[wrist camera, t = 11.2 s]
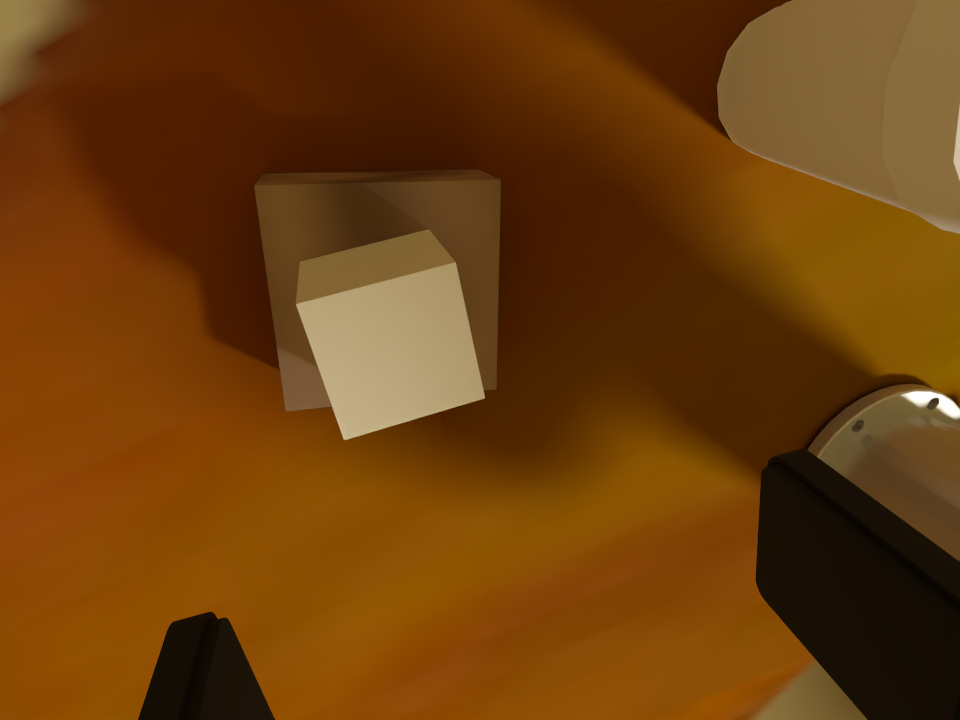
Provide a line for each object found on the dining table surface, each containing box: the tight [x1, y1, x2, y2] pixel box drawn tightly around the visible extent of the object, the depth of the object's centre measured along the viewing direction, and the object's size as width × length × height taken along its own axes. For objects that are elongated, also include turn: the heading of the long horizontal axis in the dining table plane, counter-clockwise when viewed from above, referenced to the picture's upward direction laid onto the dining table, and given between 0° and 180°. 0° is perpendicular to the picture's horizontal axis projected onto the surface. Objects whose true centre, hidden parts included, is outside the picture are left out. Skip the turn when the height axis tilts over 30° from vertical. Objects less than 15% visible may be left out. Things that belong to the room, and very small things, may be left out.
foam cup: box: [717, 0, 960, 233], centre depth 22 cm, size 10×9×13 cm
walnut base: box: [254, 169, 501, 411], centre depth 25 cm, size 9×9×4 cm
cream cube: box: [296, 229, 485, 440], centre depth 22 cm, size 5×5×5 cm
